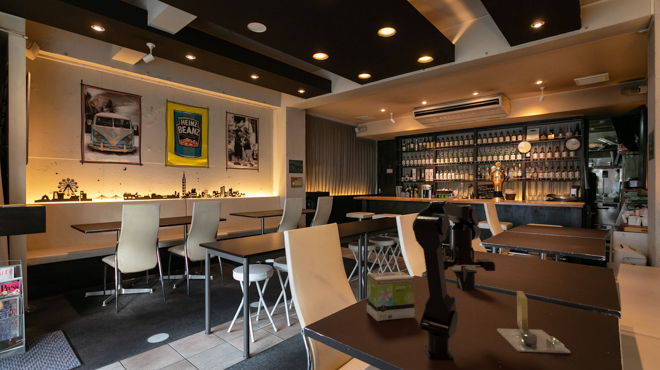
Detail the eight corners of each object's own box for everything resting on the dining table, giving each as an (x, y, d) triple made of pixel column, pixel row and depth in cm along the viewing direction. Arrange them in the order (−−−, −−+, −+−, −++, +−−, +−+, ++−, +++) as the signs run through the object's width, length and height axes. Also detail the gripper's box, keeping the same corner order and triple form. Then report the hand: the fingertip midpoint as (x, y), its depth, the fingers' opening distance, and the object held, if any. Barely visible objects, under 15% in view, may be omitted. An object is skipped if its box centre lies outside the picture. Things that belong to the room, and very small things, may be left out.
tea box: (377, 322, 112) (377, 280, 113) (366, 312, 122) (366, 273, 122) (415, 317, 117) (415, 276, 117) (402, 308, 126) (401, 270, 127)
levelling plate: (570, 353, 91) (570, 342, 91) (518, 351, 92) (518, 341, 92) (541, 331, 105) (541, 322, 105) (496, 330, 106) (496, 321, 106)
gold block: (538, 346, 93) (538, 307, 93) (522, 343, 94) (522, 305, 94) (526, 324, 108) (526, 291, 108) (513, 322, 109) (512, 290, 109)
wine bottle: (450, 287, 152) (449, 224, 153) (463, 284, 158) (462, 223, 159) (465, 291, 146) (464, 225, 147) (478, 288, 152) (477, 224, 152)
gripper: (482, 239, 113) (482, 284, 113) (428, 239, 115) (428, 283, 115) (495, 244, 102) (496, 294, 102) (435, 244, 104) (436, 293, 103)
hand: (463, 290), depth 106 cm, fingers closed
